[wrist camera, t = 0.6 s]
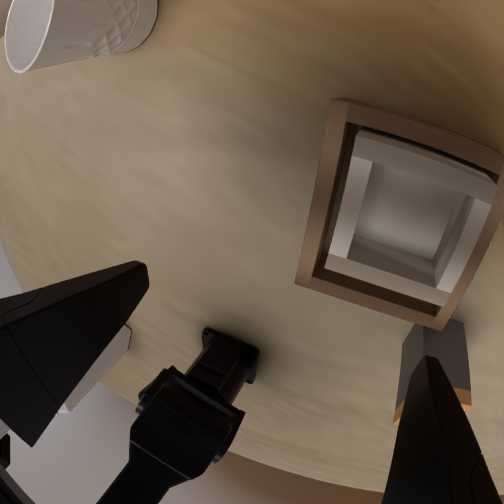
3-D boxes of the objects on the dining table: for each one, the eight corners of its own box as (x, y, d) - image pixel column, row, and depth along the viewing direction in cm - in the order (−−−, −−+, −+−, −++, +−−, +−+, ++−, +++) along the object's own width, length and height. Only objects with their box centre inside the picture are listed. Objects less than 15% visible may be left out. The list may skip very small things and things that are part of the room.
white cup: (159, -37, 14) (55, -57, 7) (171, 39, 18) (58, 39, 10) (96, 2, 18) (4, 6, 10) (105, 71, 21) (8, 90, 14)
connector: (440, 355, 22) (439, 434, 15) (402, 344, 23) (392, 424, 17) (463, 323, 19) (471, 405, 13) (422, 310, 21) (421, 394, 14)
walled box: (438, 304, 20) (442, 352, 16) (306, 261, 23) (284, 301, 19) (501, 153, 13) (533, 175, 9) (338, 97, 16) (322, 99, 12)
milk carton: (96, 322, 45) (19, 396, 30) (97, 298, 41) (7, 380, 26) (128, 350, 44) (53, 431, 30) (132, 329, 40) (44, 422, 25)
